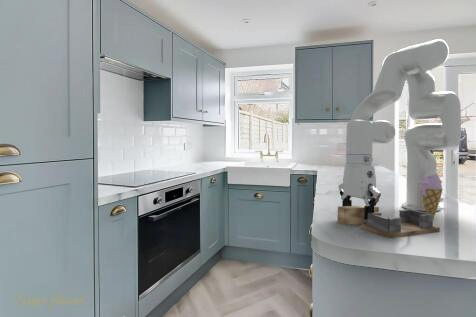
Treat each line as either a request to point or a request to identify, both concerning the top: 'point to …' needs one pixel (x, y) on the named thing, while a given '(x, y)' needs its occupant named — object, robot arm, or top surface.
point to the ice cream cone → (431, 192)
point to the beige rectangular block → (352, 214)
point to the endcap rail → (401, 224)
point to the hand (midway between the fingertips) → (357, 215)
